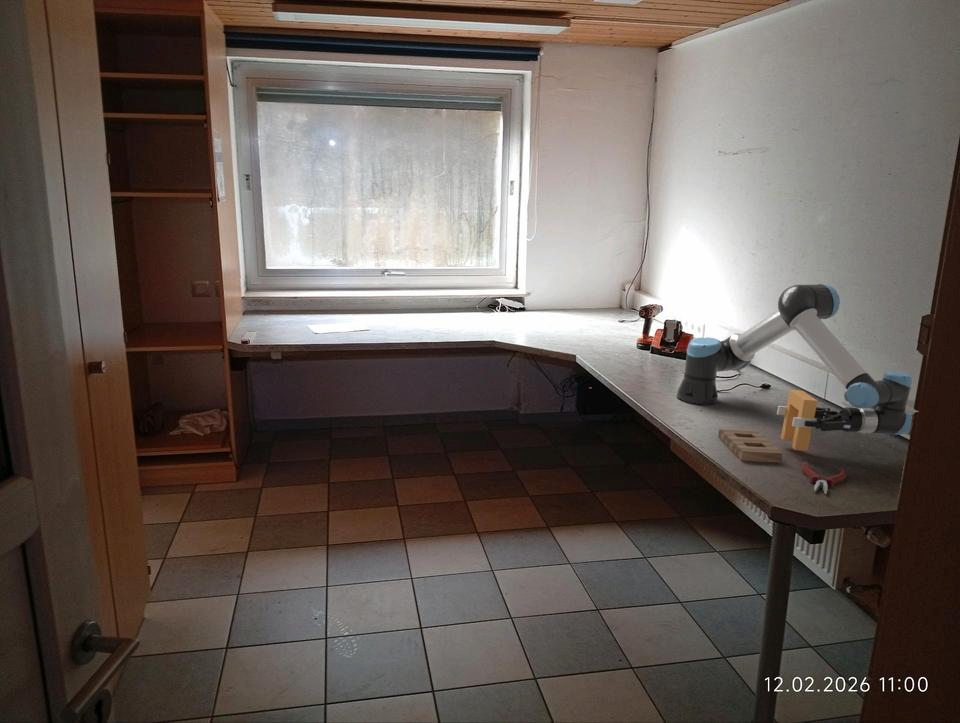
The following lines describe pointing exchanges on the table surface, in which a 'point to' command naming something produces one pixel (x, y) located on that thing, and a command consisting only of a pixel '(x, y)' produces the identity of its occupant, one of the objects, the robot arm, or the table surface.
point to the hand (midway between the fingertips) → (785, 415)
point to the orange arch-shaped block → (801, 408)
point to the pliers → (826, 481)
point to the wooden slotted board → (749, 445)
